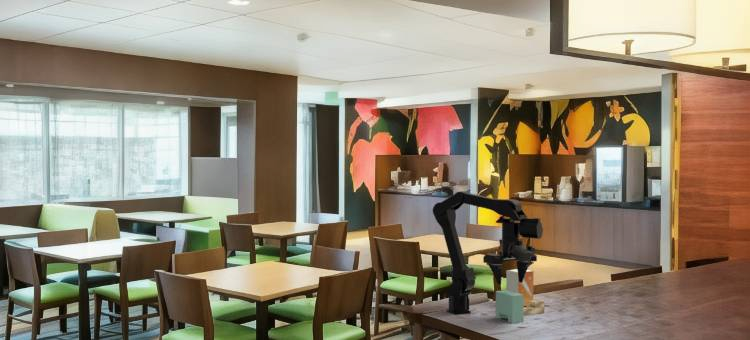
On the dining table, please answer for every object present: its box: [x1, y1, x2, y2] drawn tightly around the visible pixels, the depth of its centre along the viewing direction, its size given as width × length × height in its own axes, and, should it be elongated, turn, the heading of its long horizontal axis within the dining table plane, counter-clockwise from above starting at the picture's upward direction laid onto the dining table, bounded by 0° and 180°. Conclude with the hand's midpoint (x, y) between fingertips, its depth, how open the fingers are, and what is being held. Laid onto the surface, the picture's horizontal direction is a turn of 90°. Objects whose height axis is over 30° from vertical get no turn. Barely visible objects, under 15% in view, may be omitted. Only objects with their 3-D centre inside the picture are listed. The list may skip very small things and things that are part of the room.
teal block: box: [495, 289, 524, 324], centre depth 218 cm, size 4×9×9 cm, turn 26°
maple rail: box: [523, 299, 545, 316], centre depth 227 cm, size 14×3×4 cm, turn 116°
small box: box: [505, 268, 535, 307], centre depth 241 cm, size 8×6×13 cm
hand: (510, 283), depth 218 cm, fingers open, 9 cm apart
